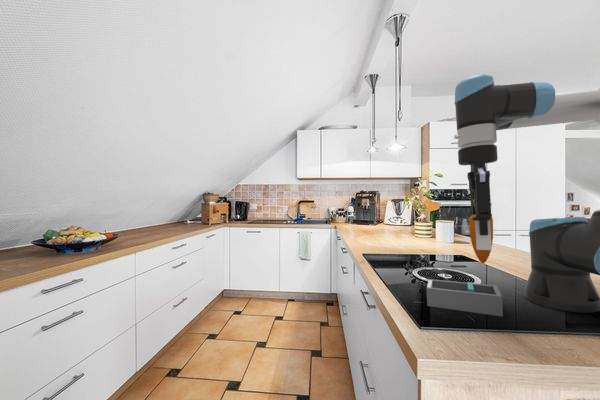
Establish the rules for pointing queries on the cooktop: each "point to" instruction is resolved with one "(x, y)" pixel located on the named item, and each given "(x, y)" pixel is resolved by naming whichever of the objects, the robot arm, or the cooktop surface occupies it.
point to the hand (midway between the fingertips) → (482, 247)
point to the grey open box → (464, 297)
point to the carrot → (480, 254)
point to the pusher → (470, 287)
